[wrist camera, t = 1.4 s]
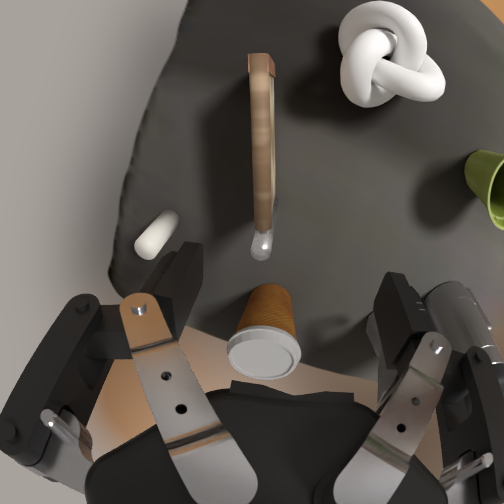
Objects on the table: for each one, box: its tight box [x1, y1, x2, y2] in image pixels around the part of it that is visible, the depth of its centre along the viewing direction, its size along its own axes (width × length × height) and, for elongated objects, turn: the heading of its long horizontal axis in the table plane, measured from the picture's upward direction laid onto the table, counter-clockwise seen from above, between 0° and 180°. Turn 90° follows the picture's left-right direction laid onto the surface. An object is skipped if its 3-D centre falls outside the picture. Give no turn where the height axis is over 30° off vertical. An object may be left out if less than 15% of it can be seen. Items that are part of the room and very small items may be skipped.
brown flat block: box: [248, 53, 275, 231], centre depth 27 cm, size 16×2×10 cm, turn 2°
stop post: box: [134, 210, 180, 260], centre depth 36 cm, size 3×3×8 cm
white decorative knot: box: [338, 1, 445, 108], centre depth 21 cm, size 11×12×9 cm
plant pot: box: [464, 150, 504, 230], centre depth 25 cm, size 9×9×9 cm
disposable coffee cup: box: [227, 284, 301, 380], centre depth 39 cm, size 10×10×12 cm
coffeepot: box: [366, 311, 398, 404], centre depth 36 cm, size 15×9×18 cm, turn 29°
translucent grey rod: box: [251, 197, 278, 261], centre depth 31 cm, size 2×2×12 cm
